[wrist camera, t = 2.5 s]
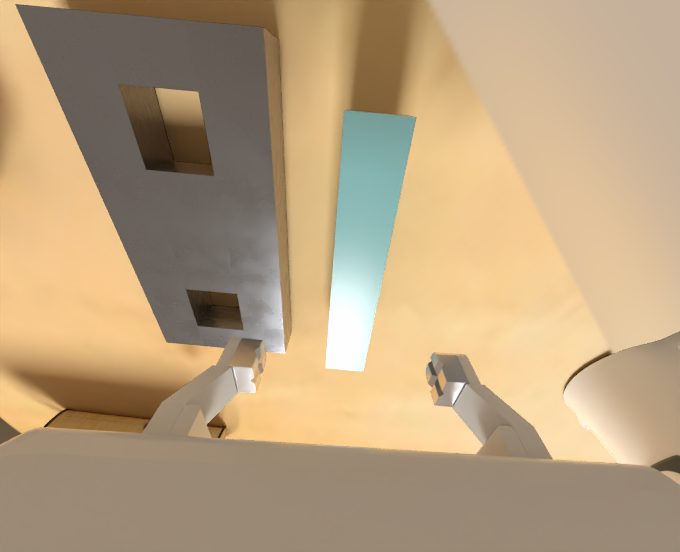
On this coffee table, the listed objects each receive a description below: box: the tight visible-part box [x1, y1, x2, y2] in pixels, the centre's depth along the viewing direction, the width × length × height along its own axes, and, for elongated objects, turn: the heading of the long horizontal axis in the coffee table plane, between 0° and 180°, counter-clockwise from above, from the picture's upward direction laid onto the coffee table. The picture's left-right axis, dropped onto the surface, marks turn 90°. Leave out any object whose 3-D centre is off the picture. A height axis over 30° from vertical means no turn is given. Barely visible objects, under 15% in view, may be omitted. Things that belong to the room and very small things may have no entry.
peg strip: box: [326, 110, 416, 372], centre depth 20 cm, size 4×20×5 cm, turn 176°
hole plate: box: [15, 4, 291, 353], centre depth 20 cm, size 12×24×3 cm, turn 176°
